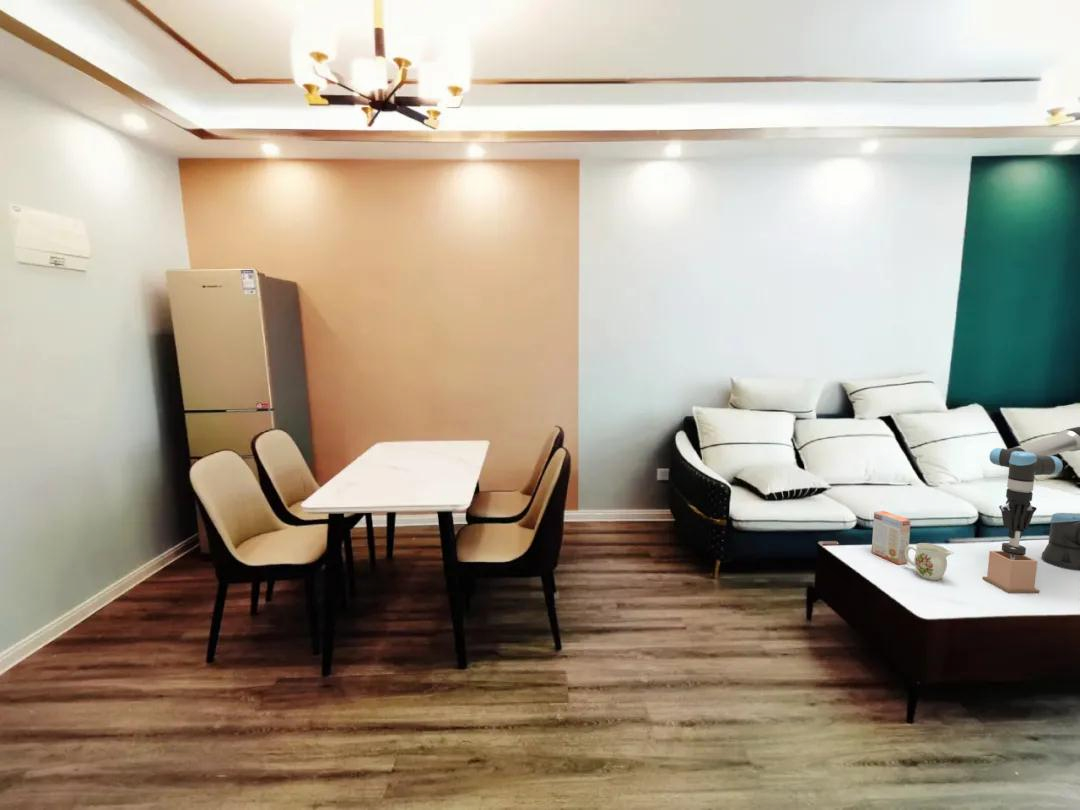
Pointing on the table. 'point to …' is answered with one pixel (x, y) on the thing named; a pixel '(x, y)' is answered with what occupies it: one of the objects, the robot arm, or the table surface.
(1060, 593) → the table surface
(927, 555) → the pitcher
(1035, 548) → the table surface
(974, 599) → the table surface
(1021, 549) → the plunger
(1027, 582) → the open square box
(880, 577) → the table surface
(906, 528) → the cracker box
